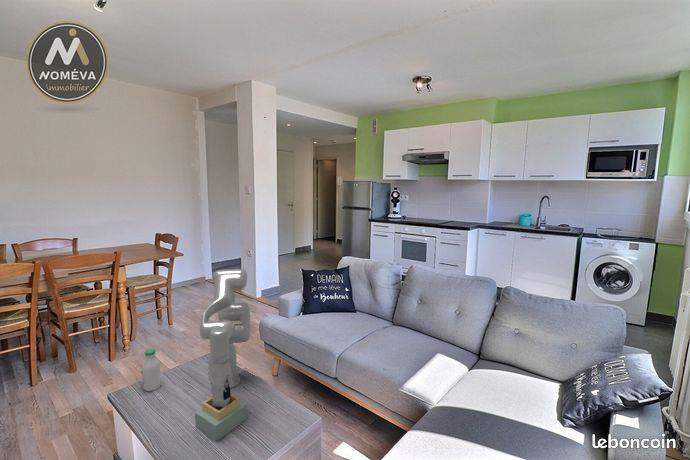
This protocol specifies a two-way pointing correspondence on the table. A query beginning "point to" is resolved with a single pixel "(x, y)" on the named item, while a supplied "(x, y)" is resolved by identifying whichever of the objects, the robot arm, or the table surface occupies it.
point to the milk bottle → (151, 371)
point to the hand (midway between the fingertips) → (221, 394)
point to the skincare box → (218, 396)
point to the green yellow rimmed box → (220, 417)
